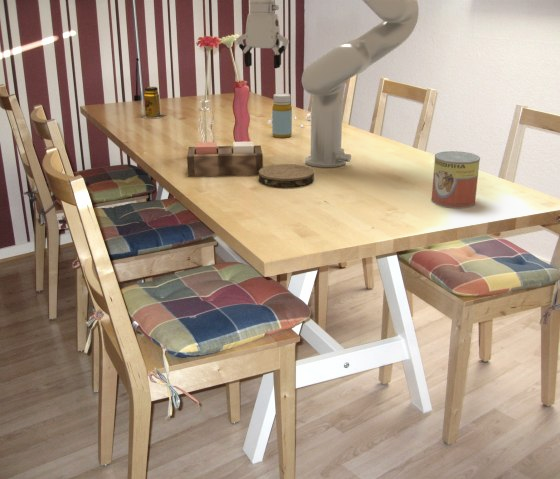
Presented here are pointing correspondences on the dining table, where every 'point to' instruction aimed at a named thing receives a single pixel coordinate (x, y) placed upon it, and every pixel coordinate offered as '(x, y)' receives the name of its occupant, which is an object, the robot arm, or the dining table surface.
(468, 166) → the canned food
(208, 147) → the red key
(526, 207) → the dining table surface
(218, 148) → the frame
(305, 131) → the dining table surface
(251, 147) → the white block
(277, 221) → the dining table surface
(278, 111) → the bottle
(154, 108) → the condiment
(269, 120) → the game piece set
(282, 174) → the brown flat disc
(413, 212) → the dining table surface
